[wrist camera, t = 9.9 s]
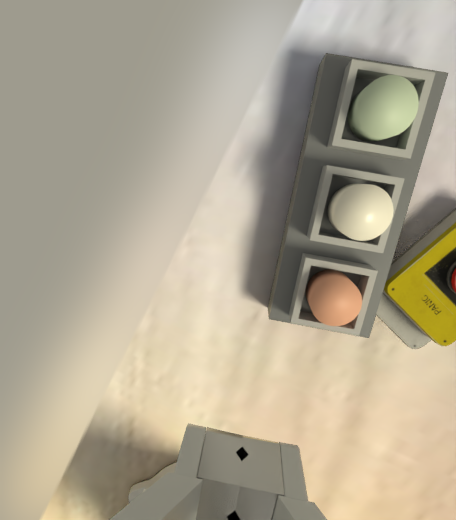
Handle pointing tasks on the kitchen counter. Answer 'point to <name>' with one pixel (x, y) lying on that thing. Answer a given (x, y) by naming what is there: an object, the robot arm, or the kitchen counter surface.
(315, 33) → the kitchen counter surface
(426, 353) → the kitchen counter surface
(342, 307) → the brown egg
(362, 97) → the pale green egg
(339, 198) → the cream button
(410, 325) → the emergency button
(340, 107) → the panel
